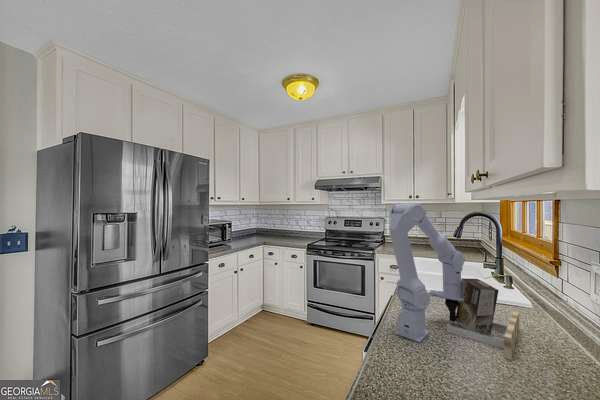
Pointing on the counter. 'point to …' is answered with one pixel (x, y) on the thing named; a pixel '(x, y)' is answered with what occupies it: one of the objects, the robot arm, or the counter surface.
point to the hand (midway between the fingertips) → (452, 320)
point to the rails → (480, 334)
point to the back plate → (511, 335)
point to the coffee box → (476, 305)
